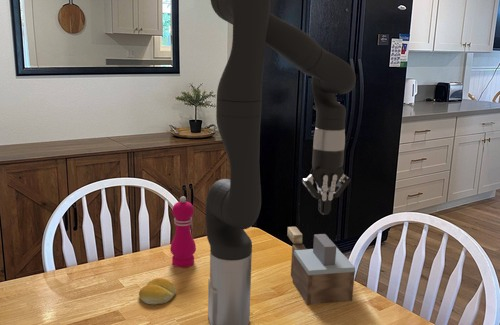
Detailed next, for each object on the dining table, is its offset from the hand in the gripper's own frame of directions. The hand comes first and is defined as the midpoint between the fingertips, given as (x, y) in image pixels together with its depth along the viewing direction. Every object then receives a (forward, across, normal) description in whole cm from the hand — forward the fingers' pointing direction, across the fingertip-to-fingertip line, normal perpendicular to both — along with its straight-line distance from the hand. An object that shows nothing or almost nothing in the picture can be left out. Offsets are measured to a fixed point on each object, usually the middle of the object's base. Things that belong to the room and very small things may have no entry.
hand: (324, 213), depth 124 cm
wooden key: (+12, +2, -12) cm, 17 cm away
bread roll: (+21, +41, -7) cm, 47 cm away
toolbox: (+21, 0, -1) cm, 21 cm away
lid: (+14, 0, +1) cm, 14 cm away
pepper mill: (+21, +31, -24) cm, 45 cm away
